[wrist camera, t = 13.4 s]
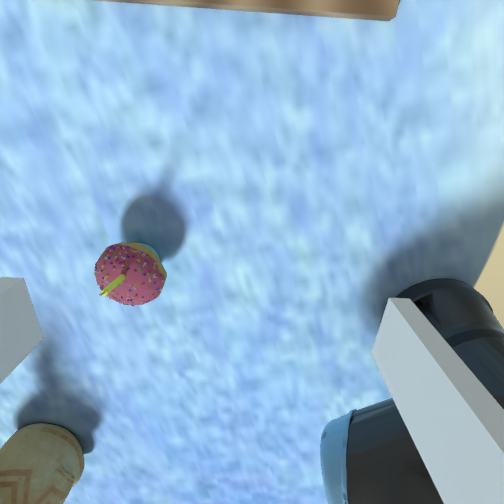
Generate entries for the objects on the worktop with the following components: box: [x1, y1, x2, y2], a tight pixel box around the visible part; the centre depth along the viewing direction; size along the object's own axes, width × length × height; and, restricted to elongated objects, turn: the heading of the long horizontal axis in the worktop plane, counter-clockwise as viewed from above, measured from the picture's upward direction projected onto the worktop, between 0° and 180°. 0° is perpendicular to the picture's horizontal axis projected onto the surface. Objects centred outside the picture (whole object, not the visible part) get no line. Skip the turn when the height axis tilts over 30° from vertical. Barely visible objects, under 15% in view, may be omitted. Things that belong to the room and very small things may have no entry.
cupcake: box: [94, 242, 167, 306], centre depth 34 cm, size 9×8×12 cm
